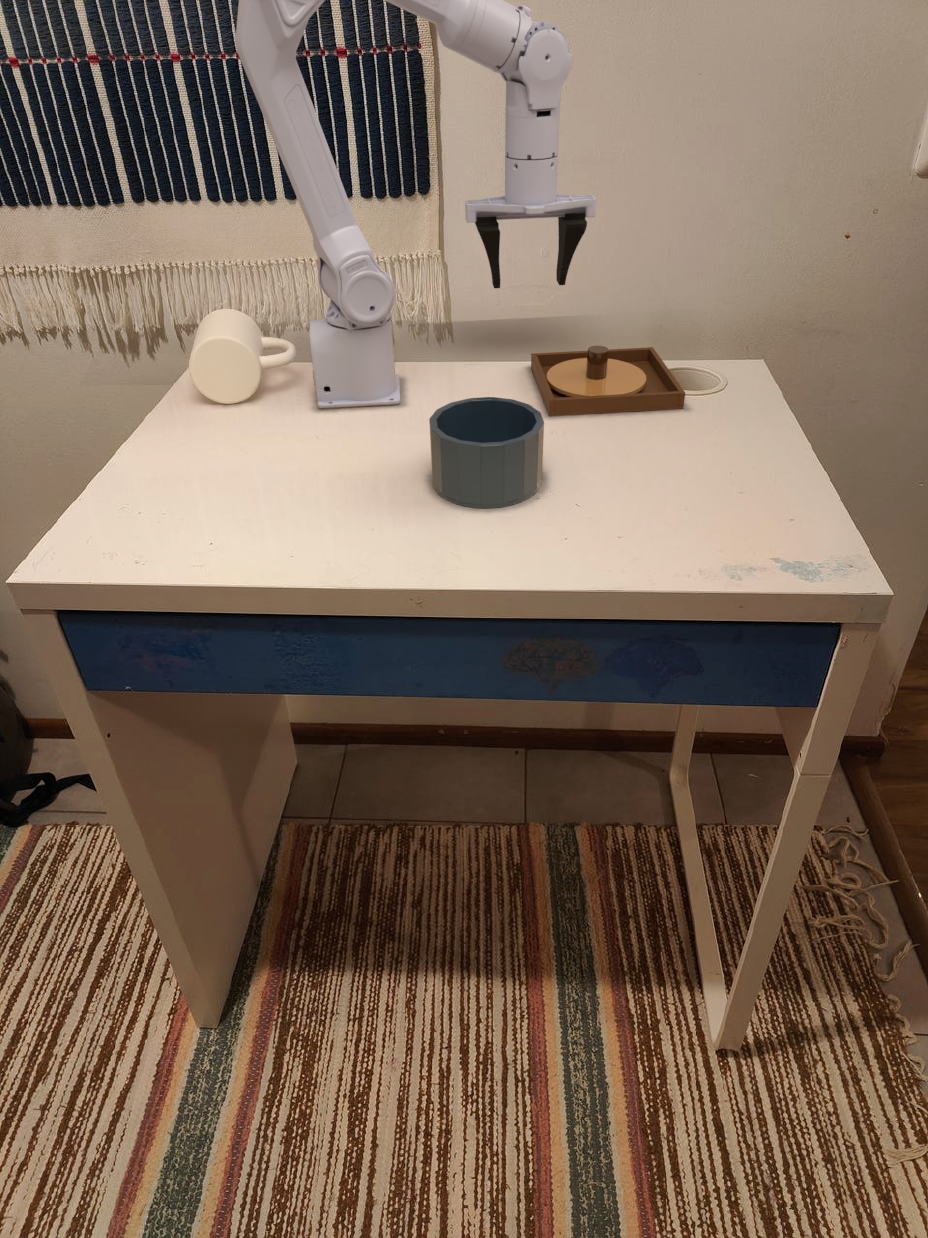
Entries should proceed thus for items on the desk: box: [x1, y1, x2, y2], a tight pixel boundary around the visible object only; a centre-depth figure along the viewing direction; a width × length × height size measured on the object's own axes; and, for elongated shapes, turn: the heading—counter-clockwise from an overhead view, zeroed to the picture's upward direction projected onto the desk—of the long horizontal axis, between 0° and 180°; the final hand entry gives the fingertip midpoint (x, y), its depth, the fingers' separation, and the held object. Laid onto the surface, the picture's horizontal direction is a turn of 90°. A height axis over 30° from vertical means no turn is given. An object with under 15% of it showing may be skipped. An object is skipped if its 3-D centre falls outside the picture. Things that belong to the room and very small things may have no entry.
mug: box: [188, 308, 297, 405], centre depth 102 cm, size 12×10×8 cm
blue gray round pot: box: [428, 396, 545, 509], centre depth 82 cm, size 11×11×6 cm
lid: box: [546, 345, 646, 397], centre depth 100 cm, size 12×12×4 cm
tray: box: [530, 346, 686, 417], centre depth 101 cm, size 15×14×2 cm
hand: (528, 284), depth 102 cm, fingers open, 7 cm apart
